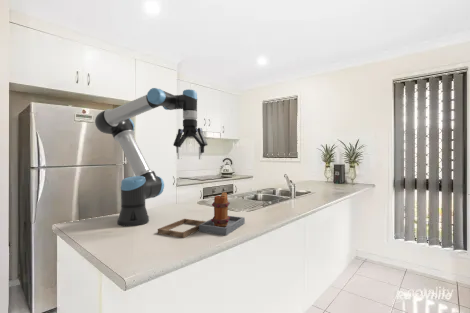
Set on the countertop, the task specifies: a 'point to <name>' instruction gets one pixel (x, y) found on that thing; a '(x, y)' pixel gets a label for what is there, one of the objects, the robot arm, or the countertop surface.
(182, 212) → the countertop surface
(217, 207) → the mug
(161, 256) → the countertop surface
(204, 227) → the tray
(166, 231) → the wooden picture frame
